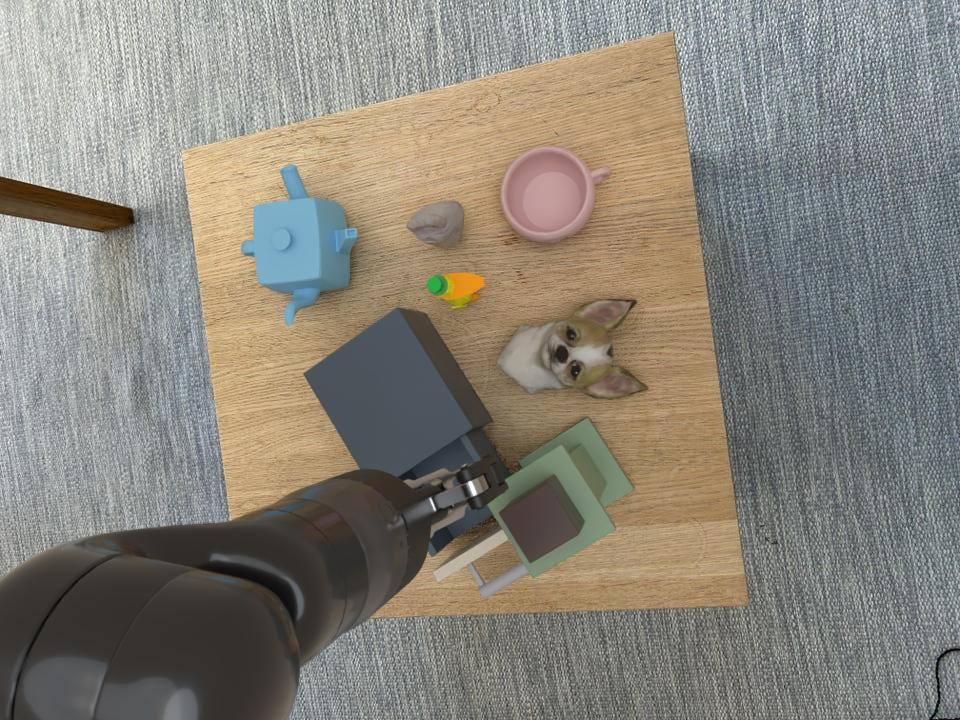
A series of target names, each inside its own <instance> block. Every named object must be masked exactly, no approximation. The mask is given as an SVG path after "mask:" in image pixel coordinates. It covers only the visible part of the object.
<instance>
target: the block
mask: <svg viewBox="0 0 960 720" xmlns="http://www.w3.org/2000/svg"><path fill="white" fill-rule="evenodd" d="M499 515H500V516H501V518H502V520H503V521H504V523H505V524H506V526H507V528H508V529H509V531H510V532H511V534H512V536H513V537H514V539H515V541H516V542H517V544H518V545H519V547H520V549H521V550H522V552H523V553H524V555H525V557H526V558H527V560H528V561H529V563H532V562H534V561H536V560H537V559H539V558H541V557H542V556H544V555H546V554H547V553H549V552H551V551H552V550H554V549H556V548H557V547H559V546H561V545H562V544H564V543H566V542H567V541H569V540H571V539H572V538H574V537H576V536H578V535H579V534H580V532H581V529H582V527H583V525H584V523H585V521H584V519H583V517H582V516H581V514H580V513H579V511H578V510H577V508H576V506H575V505H574V503H573V502H572V500H571V499H570V497H569V495H568V494H567V492H566V491H565V489H564V488H563V486H562V484H561V483H560V481H559V480H558V478H557V477H556V475H553V476H551V477H550V478H548V479H546V480H545V481H543V482H542V483H540V484H538V485H537V486H535V487H533V488H532V489H530V490H529V491H527V492H525V493H524V494H522V495H521V496H519V497H517V498H516V499H514V500H513V501H511V502H510V503H509V504H507V505H506V506H505V507H504V508H503V509H502V510H501V511H500V512H499Z"/></svg>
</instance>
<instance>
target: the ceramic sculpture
mask: <svg viewBox="0 0 960 720" xmlns="http://www.w3.org/2000/svg"><path fill="white" fill-rule="evenodd" d="M638 302H639V301H638V299H623V298H605V299H604V298H603V299H602V298H601V299H600V298H597V299H595V300H593V301H589V302H586V303H582V305H580V306H578V308H576V309H575V310H574V311H573V313H572V314H571V316H570V317H569V318H566V319H564V320H559V321H558V320H556V321H554V320H551V321H549V322H548V323H544V324H542V325H533V324H528V323H523V324H520V326H519V327H518V329H517V330H516V332H515V333H514V334H513V335H512V337H511V339H510V340H509V341H508V343H507V344H506V345H505V346H504V347H503V349H502V350H501V352H500V354H499V356H498V357H497V358H496V366H497V367H498V368H500V370H501V371H502V372H503V373H504V374H505V375H506V376H508V377H509V378H511V379H512V380H513V381H514V382H516V383H517V384H518V385H519V386H521V388H523V390H525V392H526V393H528V394H529V395H535V394H537V393H539V392H541V391H543V390H545V389H552V390H558V391H560V390H566V389H570V388H574V389H579V390H580V391H581V392H583V394H585V395H586V396H589V397H591V398H593V399H595V400H600V399H601V400H609V401H613V400H615V399H621V398H624V397H628V396H629V397H630V396H632V395H635V394H637V393H642V392H645V391H648V390H649V389H650V387H649V386H648V385H647V384H645V383H644V382H642V381H640V380H639V379H638V378H637V377H636V376H635V375H634V374H632V372H631V371H630V370H629V369H627V368H625V367H620V366H619V367H617V366H612V364H613V359H614V347H613V343H612V340H611V337H610V334H609V332H608V331H611V330H613V329H617V328H619V327H620V326H621V325H622V324H623V323H624V322H625V320H626V318H627V316H629V314H630V312H631V311H632V309H633V308H635V306H636V305H637V304H638Z"/></svg>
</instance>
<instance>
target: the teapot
mask: <svg viewBox="0 0 960 720" xmlns="http://www.w3.org/2000/svg"><path fill="white" fill-rule="evenodd" d="M279 173H280V176H281V179H282V181H283V184H284V186H285V189H286V192H287V194H288V197H289V199H286V200H285V199H284V200H277V201H271V202H265V203H259V204H256V205H255V204H254V206H253V214H252V231H253V232H252V233H253V235H252V237H253V239H248V240H247V239H246V240H244V241H242V242H241V245H240V251H241V254H242V255H243V256H246V257H252V258H254V261H255V270H256V275H257V281H258V283H259V285H260V286H262V287H264V288H266V289H267V290H269V291H272V292H275V293H277V294H282V295H292V299H291V300H290V301H289V302H288V303H287V304H286V306H285V309H284V314H283V318H284V323H285V325H286V326H287V327H291V326H292V325H293V323H294V320H295V316H296V314H297V312H299V311H300V310H303V309H307V308H309V307H311V306H312V305H314V304H315V303H316V302H317V301H318V299H319V298H320V295H321V293H322V292H329V291H336V290H341V289H345V288H348V287H349V285H350V280H351V251H352V249H353V247H354V245H355V243H356V242H357V240H358V238H359V235H358V228H357V227H353V228H348V227H349V226H348V221H347V215H346V213H345V212H346V211H345V209H344V208H343V206H342V205H341V204H340V203H339V202H337V201H334V200H330V199H327V198H320V197H310V196H309V194H308V191H307V189H306V187H305V184H304V182H303V180H302V178H301V174H300V172H299V170H298V168H297V166H296V165H295V164H288V165H284V166H283V167H281V168H280V170H279Z"/></svg>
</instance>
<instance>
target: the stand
mask: <svg viewBox="0 0 960 720" xmlns="http://www.w3.org/2000/svg"><path fill="white" fill-rule="evenodd" d="M517 462H518V464H519V465H520V468H521V469H519V470H517V471H516V472H515V473H512V474H511V476H510V477H508V478H506V479H505V482H507V484H508V486H509V489H508V490H506V491H505V493H503V494H501V495H499V496H498V497H497V498H495V499H494V500H493V501H491V502H490V503H488V504H487V505H488V507H489V509H490V510H491V512H492V513H493V517H494V518H495V520H496V522H497V523H498V525H500V526H501V528H502V530H503V531H504V533H505V534H506V536H507V538H508V539H509V540H508V541H509V543H510V544H511V545H512V547H513V549H514V551H515V552H516V554H517V555H518V557H519V559H520V560H521V562H523V564H524V565H525V567H526V568H527V570H528V572H529V575H530V577H531V579H536V578H537V577H539V576H540V575H543V574H545V573H546V572H548V571H549V570H551V569H553V568H554V567H556V566H558V565H559V564H561V563H563V562H565V561H566V560H567V559H569V558H571V557H573V556H574V555H576V554H577V553H580V552H581V551H583V550H585V549H586V548H588V547H589V546H591V545H593V544H594V543H597V542H598V541H600V540H602V539H603V538H605V537H607V536H608V535H610V534H612V533H614V532H615V531H616V530H617V525H616V523H615V522H614V521H613V519H612V517H611V516H610V514H609V512H607V510H606V508H607V507H608V506H610V505H611V504H613V503H615V502H616V501H618V500H619V499H622V498H623V497H625V496H627V495H628V494H630V493H632V492H633V491H634V490H635V488H636V487H635V485H634V484H633V482H632V481H631V479H630V477H629V476H628V475H627V473H626V472H625V470H624V469H623V467H622V465H621V464H620V462H619V461H618V459H617V458H616V456H615V455H614V453H613V452H612V450H611V449H610V447H609V445H608V444H607V442H606V441H605V439H604V438H603V436H602V434H601V433H600V431H599V430H598V428H597V427H596V425H595V424H594V422H593V421H592V419H591V418H590V416H586V417H585V418H584V419H582V420H580V421H579V422H577V423H575V424H574V425H573V426H571V427H569V428H567V429H566V430H565V431H563V432H562V433H560V434H558V435H557V436H555V437H553V438H552V439H551V440H549V441H547V442H545V443H544V444H543V445H541V446H539V447H538V448H536V449H535V450H533V451H532V452H530V453H527V455H525V456H524V457H522V458H521V459H519V460H518V461H517ZM553 475H556V477H557V478H558V480H559V481H560V483H561V484H562V486H563V488H564V489H565V491H566V492H567V494H568V495H569V497H570V499H571V500H572V502H573V503H574V505H575V506H576V508H577V510H578V511H579V513H580V514H581V516H582V517H583V519H584V521H585V523H584V525H583V527H582V529H581V532H580V534H579V535H578V536H576V537H574V538H572V539H571V540H569V541H567V542H566V543H564V544H562V545H561V546H559V547H557V548H556V549H554V550H552V551H551V552H549V553H547V554H546V555H544V556H542V557H541V558H539V559H537V560H536V561H534V562H532V563H529V561H528V560H527V558H526V557H525V555H524V553H523V552H522V550H521V549H520V547H519V545H518V544H517V542H516V541H515V539H514V537H513V536H512V534H511V532H510V531H509V529H508V528H507V526H506V524H505V523H504V521H503V520H502V518H501V516H500V515H499V512H500V511H501V510H502V509H503V508H504V507H505V506H506V505H507V504H509V503H510V502H511V501H513V500H514V499H516V498H517V497H519V496H521V495H522V494H524V493H525V492H527V491H529V490H530V489H532V488H533V487H535V486H537V485H538V484H540V483H542V482H543V481H545V480H546V479H548V478H550V477H551V476H553Z"/></svg>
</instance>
